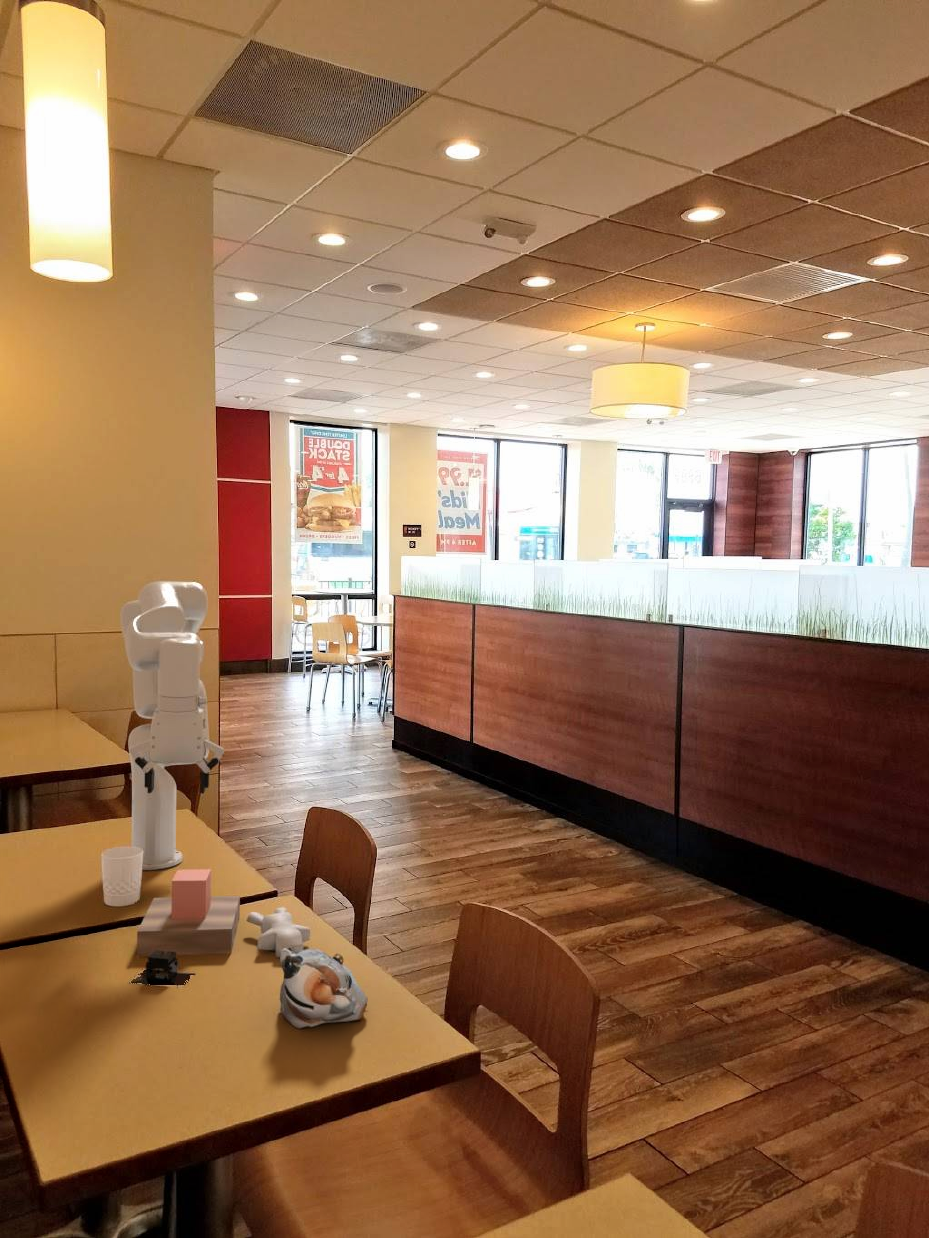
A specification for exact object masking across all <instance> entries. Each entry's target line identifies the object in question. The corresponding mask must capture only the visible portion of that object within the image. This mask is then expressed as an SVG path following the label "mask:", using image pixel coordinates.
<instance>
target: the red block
mask: <svg viewBox="0 0 929 1238" xmlns="http://www.w3.org/2000/svg"><path fill="white" fill-rule="evenodd" d="M211 883H212V869H211V868H209V869H207V868H206V869H203V868H201V869H197V868H196V869H177V871H176V873H175V874H174V876H173V878H172V880H171V898H172V908H171V919H193V918H206V916H207V913H208V911H209V908H210V901H211V897H212V896H211V893H212V892H211V889H212V888H211V886H212V885H211Z"/></svg>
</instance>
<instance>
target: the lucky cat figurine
mask: <svg viewBox="0 0 929 1238" xmlns="http://www.w3.org/2000/svg"><path fill="white" fill-rule="evenodd" d="M344 961H345V960H344V956H342V955H341V954H340V953H336V954H334V955H333V956H330V955H329V954H327V952H324V951H322V950H320V949H317V948H306V949H303V950H302V951H300V952H298V953H297V954H295V953H293V951H292V950H291V948H290V947H286V948H284V949H283V950H281V951H280V957H279V963H280V965H281V969H282V971H283V981H282V983H281V986H280V990H279V991H280V992H279V1001H280V1010H279V1011H280V1013H281V1017H282V1018H284V1019H285V1020H286V1021H287V1022H288V1023H290V1024H291V1025H292V1026H293V1027H295V1028H297V1029H299V1030H300V1029H302V1028H306V1027H311V1028H312V1027H316V1026H319V1025H321V1024H322V1025H323V1024H326V1023H327V1024H328V1023H329V1024H330V1023H340V1022H341V1023H342V1022H352V1021H360V1020H362V1019H363V1017H364V1013H365V1011H366V1008H367V1006H368V997H367V996H366V995H365V992H364V991H363V990H362V988H361V987H360V985H359V983H358V982H357V980H356V977H355V976H354V974H353V973H352V971H351V969H349V967H346V966H345V965H344V964H343V963H344Z"/></svg>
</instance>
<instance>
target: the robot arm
mask: <svg viewBox="0 0 929 1238" xmlns="http://www.w3.org/2000/svg"><path fill="white" fill-rule="evenodd" d="M208 609H209V599H208V593H207V591H206V590H205V587H203V586H202V584H200V583H199V582H198V583H197V582H193V581H162V580H161V581H154V582H153V581H152V582H150V583H148V584H146V585H145V586H143V587H142V588H141V590H140V591H139V594H138V599H136V600H131V601H129V602H126V603H124V605H122V607H121V610H120V614H119V615H120V617H119V618H120V629H121V632H122V636H123V640H124V644H125V646H124V647H125V652H126V657H127V661H128V663H129V666H130V667H131V668H132V683H133V684H132V685H133V686H132V687H133V689H132V690H133V704H134V709H135V710H134V711H135V713H136V714H137V715H138V716H139V717H140V718H142V719H149V720H150V719H152V720H151V723H147V724H141V725H139V726H137V727H134V728H133V729H132V730H131V732H130V733H129V736H128V740H127V742H128V743H127V744H128V752H129V754H128V755H129V758H130V767H131V769H130V770H131V846H133V847H138V848H141V849H142V850H143V864H142V871H155V870H163V869H167V868H172V867H174V866H177V865H178V864H180V863H181V862H183V853H182V852H181V851H179V850H177V848H176V847H177V846H176V845H177V843H176V842H177V839H176V837H177V836H176V835H177V834H176V833H177V784H176V781H175V779H174V777H173V776H172V774H170V773H169V772H168V771H167V770H166V769H165V767H168V766H169V767H170V766H176V765H178V766H179V765H193V764H196V765H197V766H198V767H199V768H200V769H201V772H200V776H199V777H200V779H199V793H201V794H205V792H206V789H209V786H210V771H212V769H214V768H215V767H216V766H217V765H218V764H219V762H220V760H221V759H222V757H223V755H224V753H225V748H224V747H222V746H220V745H218V744H216V743H215V742H212V741H210V730H209V716H208V715H209V714H208V713H209V712H208V698H207V692H206V688H205V685H204V682H203V681H202V680H201V679H200V676H201V675H200V673H201V672H200V671H201V663H202V662H203V660H204V655H205V650H204V649H205V647H204V642H203V641H202V640H201V638H200V637H199V635H197V633H198V632H199V631H200V629H201V627H202V625H203V622H204V620H205V619H206V617H207V614H208ZM210 751H212V752H213V753H214V756H213V758H212V759H210V760H208V759H207V758H208V756H209V753H210Z"/></svg>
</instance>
